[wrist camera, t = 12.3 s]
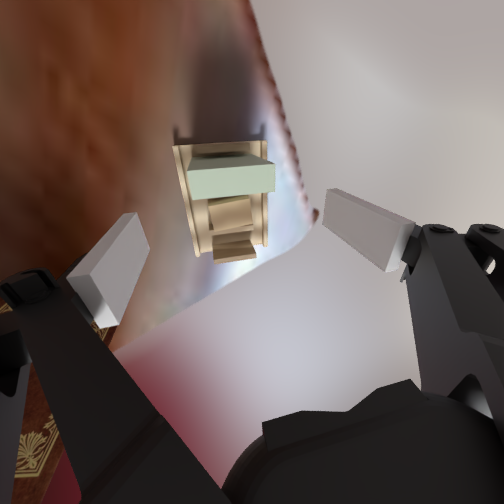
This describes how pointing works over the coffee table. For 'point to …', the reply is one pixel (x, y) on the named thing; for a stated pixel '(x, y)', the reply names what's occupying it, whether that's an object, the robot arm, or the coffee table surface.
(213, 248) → the rack
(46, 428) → the decorative book
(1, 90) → the coffee table surface
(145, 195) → the coffee table surface
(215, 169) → the sage board
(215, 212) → the offcut oak
